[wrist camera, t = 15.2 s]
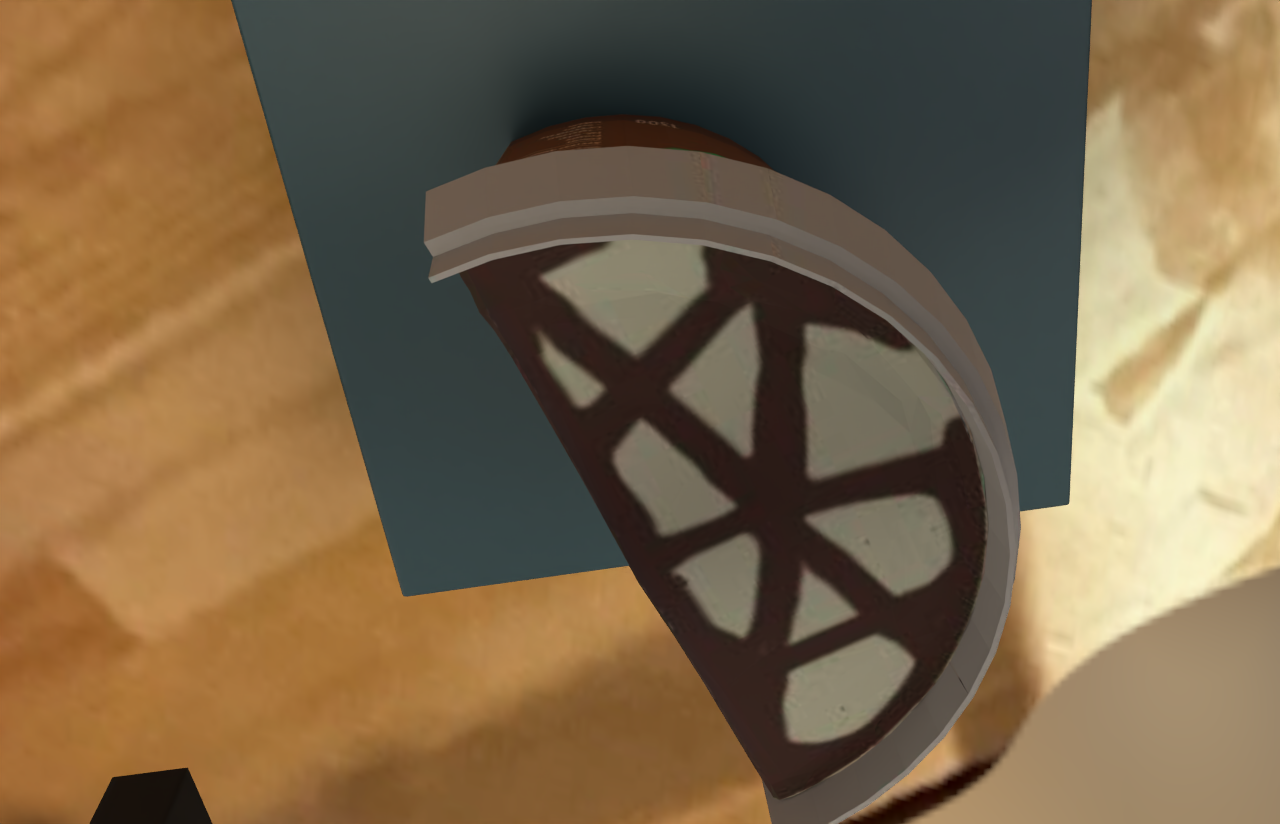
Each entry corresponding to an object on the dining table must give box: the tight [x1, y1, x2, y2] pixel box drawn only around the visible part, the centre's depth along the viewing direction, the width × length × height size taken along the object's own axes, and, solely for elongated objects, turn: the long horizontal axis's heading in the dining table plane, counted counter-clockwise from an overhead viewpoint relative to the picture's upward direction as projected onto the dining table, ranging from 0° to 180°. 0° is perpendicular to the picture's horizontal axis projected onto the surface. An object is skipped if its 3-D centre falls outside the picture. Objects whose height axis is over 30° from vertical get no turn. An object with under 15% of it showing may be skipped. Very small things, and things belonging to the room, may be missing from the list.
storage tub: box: [231, 0, 1092, 596], centre depth 28 cm, size 17×15×7 cm
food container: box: [424, 114, 1021, 824], centre depth 20 cm, size 12×6×10 cm, turn 26°
